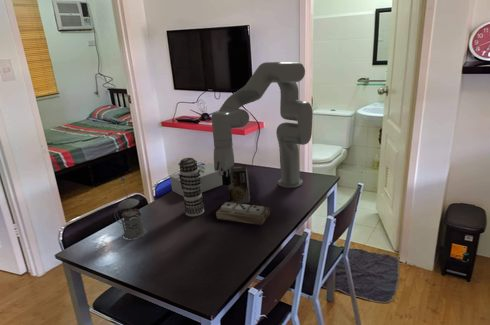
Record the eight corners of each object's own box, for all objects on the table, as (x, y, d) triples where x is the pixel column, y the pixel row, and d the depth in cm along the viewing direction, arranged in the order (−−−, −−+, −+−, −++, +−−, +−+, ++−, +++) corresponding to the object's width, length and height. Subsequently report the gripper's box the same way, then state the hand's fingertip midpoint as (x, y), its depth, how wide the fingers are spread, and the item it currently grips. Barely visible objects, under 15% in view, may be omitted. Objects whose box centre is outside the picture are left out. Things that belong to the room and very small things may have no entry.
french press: (140, 240, 137) (128, 182, 129) (113, 240, 140) (100, 182, 132) (151, 228, 146) (140, 172, 138) (125, 227, 149) (113, 172, 141)
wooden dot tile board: (227, 208, 158) (226, 202, 157) (269, 213, 150) (269, 207, 149) (216, 218, 150) (216, 212, 149) (261, 225, 141) (261, 218, 140)
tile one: (226, 208, 155) (226, 201, 154) (236, 209, 153) (236, 202, 152) (221, 213, 151) (220, 206, 150) (231, 214, 149) (231, 207, 148)
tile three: (240, 209, 152) (239, 203, 151) (250, 211, 150) (250, 204, 149) (235, 215, 148) (234, 208, 147) (246, 216, 146) (245, 209, 145)
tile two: (253, 211, 150) (253, 204, 149) (264, 212, 148) (264, 206, 147) (249, 216, 145) (248, 210, 144) (260, 218, 143) (259, 211, 142)
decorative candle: (206, 214, 154) (199, 160, 146) (185, 218, 152) (177, 164, 144) (203, 205, 163) (197, 154, 154) (183, 209, 161) (175, 158, 153)
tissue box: (227, 183, 187) (224, 164, 183) (186, 198, 172) (183, 178, 169) (211, 177, 198) (209, 159, 194) (172, 191, 183) (169, 171, 180)
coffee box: (250, 197, 167) (247, 165, 162) (249, 203, 161) (246, 170, 156) (231, 197, 168) (228, 166, 163) (229, 203, 162) (226, 171, 157)
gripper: (223, 137, 150) (226, 177, 155) (205, 147, 137) (210, 190, 142) (239, 138, 147) (242, 179, 152) (223, 148, 134) (227, 192, 139)
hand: (226, 184), depth 147 cm, fingers closed
